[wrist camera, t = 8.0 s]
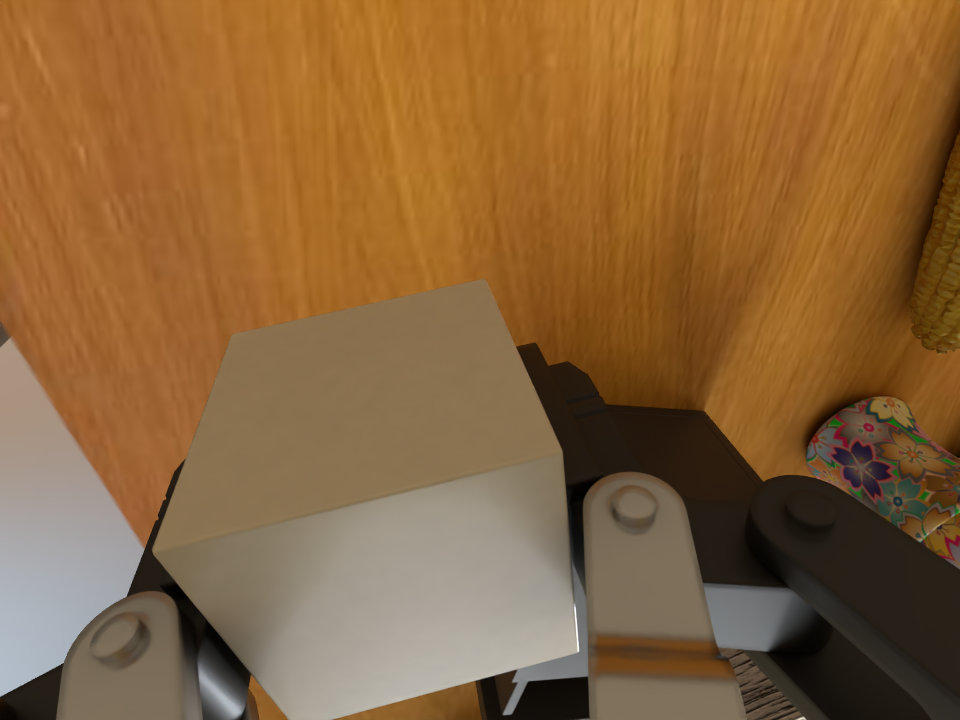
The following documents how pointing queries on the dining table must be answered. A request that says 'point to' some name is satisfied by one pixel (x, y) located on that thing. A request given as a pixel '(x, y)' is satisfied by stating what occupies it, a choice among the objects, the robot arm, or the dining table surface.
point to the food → (941, 269)
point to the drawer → (533, 698)
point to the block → (376, 506)
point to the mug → (892, 470)
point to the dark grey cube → (680, 463)
